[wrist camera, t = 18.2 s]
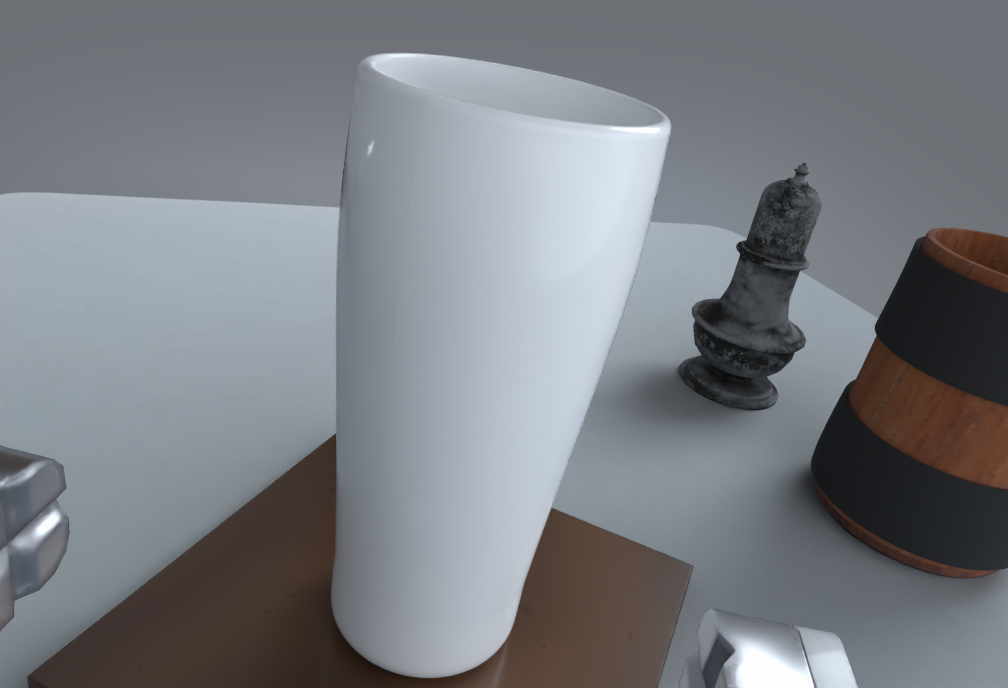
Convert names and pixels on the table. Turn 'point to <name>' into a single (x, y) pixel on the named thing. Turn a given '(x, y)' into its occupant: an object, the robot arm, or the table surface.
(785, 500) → the table surface
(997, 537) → the mug
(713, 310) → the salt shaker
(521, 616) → the walnut board
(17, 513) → the robot arm
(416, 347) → the drinking glass
